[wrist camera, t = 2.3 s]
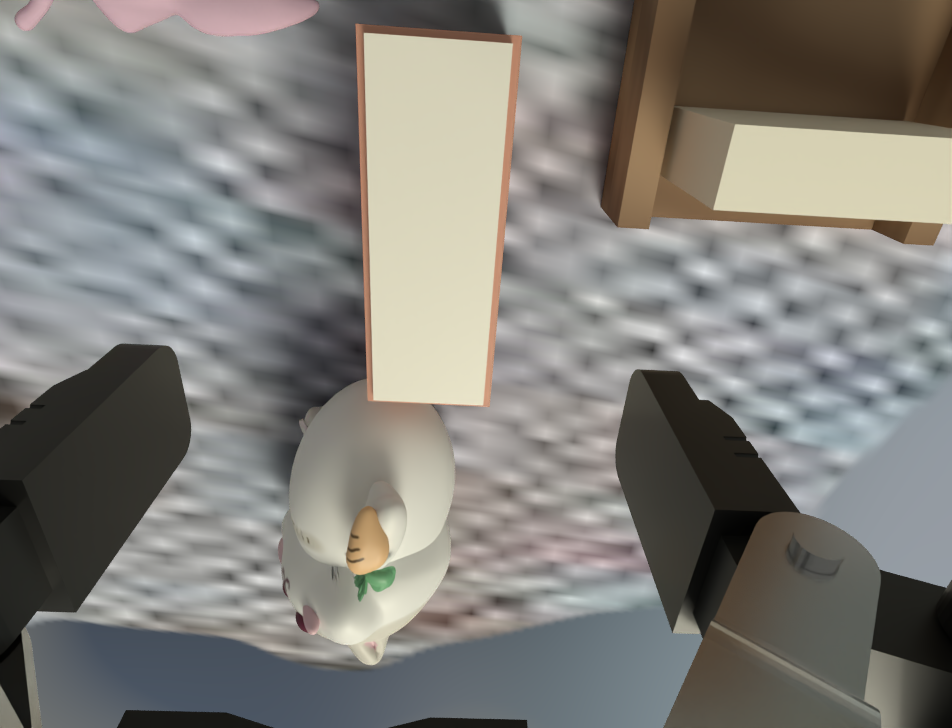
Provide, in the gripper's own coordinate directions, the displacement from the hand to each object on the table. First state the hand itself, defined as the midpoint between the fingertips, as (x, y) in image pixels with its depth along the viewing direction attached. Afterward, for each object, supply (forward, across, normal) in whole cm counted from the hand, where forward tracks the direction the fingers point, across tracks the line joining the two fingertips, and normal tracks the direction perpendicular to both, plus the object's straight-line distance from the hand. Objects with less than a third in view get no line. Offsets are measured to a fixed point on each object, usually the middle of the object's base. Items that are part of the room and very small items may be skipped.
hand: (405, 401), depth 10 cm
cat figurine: (+16, +3, +15) cm, 22 cm away
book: (+16, 0, 0) cm, 16 cm away
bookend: (+15, -13, -3) cm, 20 cm away
